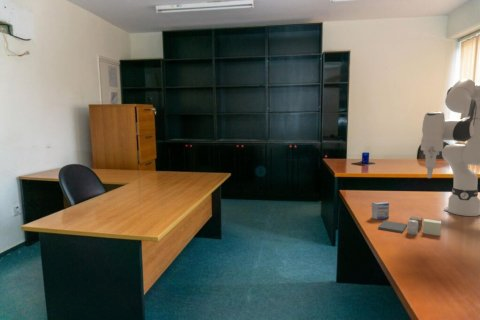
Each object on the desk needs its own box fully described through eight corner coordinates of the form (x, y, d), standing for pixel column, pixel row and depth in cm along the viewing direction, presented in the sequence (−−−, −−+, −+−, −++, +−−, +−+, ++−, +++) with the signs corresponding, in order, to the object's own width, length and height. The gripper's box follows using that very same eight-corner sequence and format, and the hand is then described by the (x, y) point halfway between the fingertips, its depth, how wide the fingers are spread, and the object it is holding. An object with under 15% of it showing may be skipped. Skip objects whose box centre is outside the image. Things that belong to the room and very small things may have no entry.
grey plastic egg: (408, 231, 159) (408, 219, 158) (418, 232, 156) (418, 220, 155) (406, 233, 155) (407, 221, 154) (416, 235, 152) (417, 223, 152)
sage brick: (424, 230, 159) (424, 218, 158) (440, 233, 155) (441, 221, 154) (422, 233, 156) (423, 221, 155) (439, 235, 151) (440, 223, 151)
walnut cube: (411, 225, 167) (411, 215, 166) (422, 227, 164) (422, 217, 163) (409, 228, 163) (409, 218, 162) (420, 229, 160) (421, 220, 159)
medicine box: (376, 220, 177) (377, 204, 176) (371, 217, 181) (371, 202, 180) (388, 218, 179) (389, 203, 178) (383, 216, 183) (383, 201, 182)
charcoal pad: (383, 222, 172) (383, 220, 172) (406, 226, 166) (407, 224, 166) (378, 228, 163) (378, 226, 163) (402, 232, 156) (402, 230, 156)
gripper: (440, 148, 140) (437, 179, 141) (439, 146, 158) (436, 174, 159) (423, 147, 143) (421, 178, 144) (424, 146, 161) (421, 173, 162)
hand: (429, 176), depth 152 cm, fingers open, 8 cm apart
